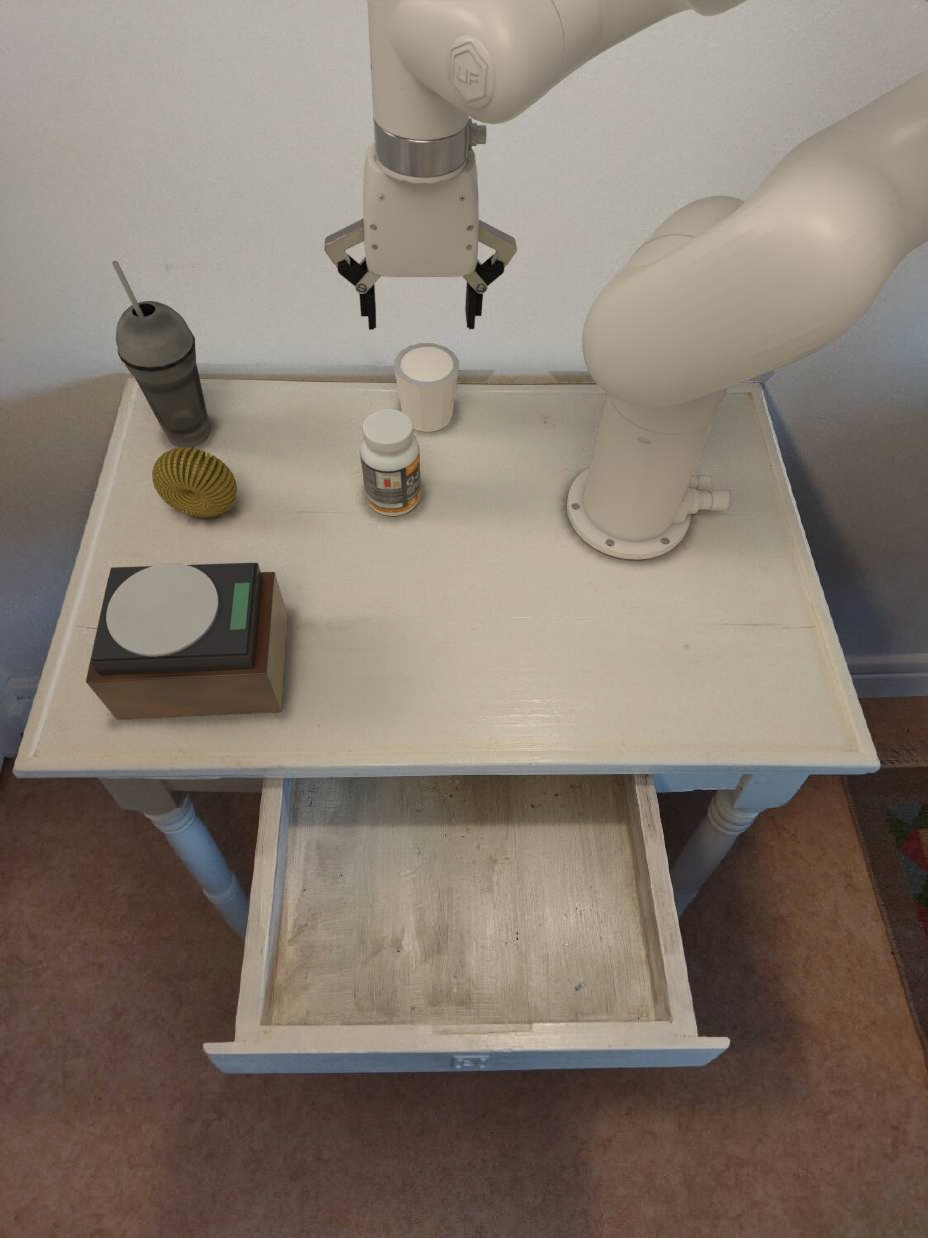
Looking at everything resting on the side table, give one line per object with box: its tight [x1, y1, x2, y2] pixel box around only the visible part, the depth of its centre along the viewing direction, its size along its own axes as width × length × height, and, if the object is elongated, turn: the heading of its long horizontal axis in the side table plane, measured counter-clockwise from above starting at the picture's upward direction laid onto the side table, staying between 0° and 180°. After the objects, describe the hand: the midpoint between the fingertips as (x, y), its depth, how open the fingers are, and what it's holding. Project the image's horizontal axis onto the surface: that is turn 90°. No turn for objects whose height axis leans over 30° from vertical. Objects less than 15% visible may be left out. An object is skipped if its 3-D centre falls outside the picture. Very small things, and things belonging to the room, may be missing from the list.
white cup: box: [393, 342, 460, 433], centre depth 85 cm, size 7×7×7 cm
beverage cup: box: [111, 260, 211, 448], centre depth 77 cm, size 7×7×20 cm
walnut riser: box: [85, 571, 289, 720], centre depth 67 cm, size 14×10×7 cm
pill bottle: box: [359, 408, 422, 517], centre depth 77 cm, size 6×6×10 cm
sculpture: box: [151, 447, 238, 519], centre depth 76 cm, size 8×4×8 cm, turn 82°
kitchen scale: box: [89, 562, 262, 675], centre depth 63 cm, size 12×9×3 cm
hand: (421, 320), depth 78 cm, fingers open, 9 cm apart
